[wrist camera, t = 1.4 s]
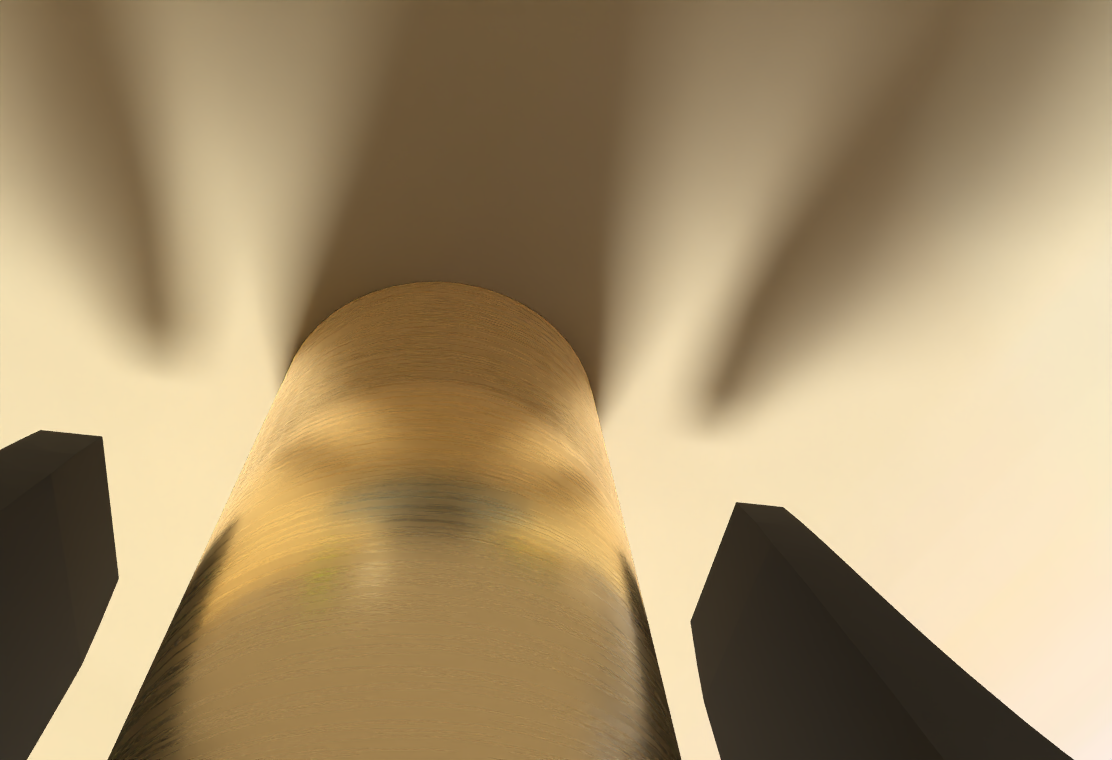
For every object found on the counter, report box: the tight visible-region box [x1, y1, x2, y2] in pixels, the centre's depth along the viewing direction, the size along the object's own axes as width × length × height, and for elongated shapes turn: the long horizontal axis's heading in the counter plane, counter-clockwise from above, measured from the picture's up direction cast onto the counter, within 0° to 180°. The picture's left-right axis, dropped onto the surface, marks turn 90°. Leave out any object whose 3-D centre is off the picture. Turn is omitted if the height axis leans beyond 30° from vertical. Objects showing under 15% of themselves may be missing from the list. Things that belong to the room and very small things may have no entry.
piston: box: [108, 282, 681, 760], centre depth 8 cm, size 4×4×7 cm
